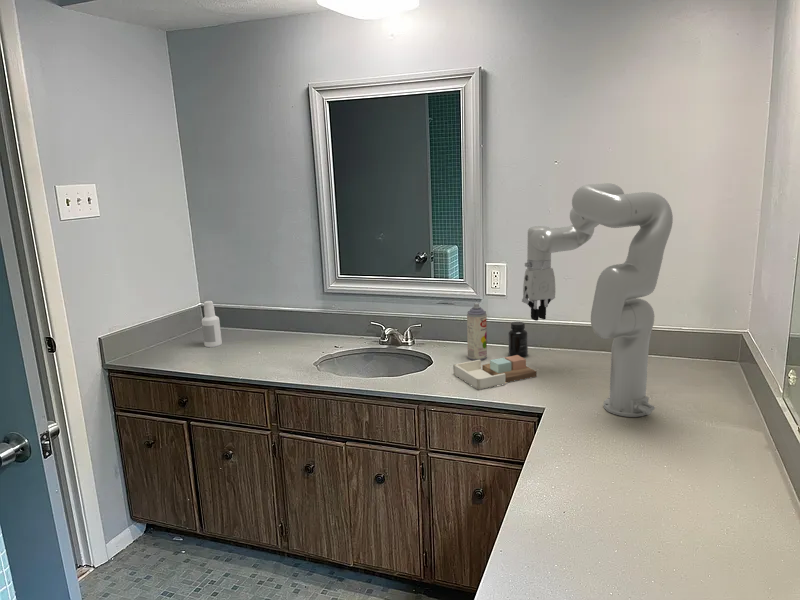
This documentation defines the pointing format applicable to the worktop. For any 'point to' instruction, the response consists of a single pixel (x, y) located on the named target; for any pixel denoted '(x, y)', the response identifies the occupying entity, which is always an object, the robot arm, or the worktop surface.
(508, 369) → the teal tile
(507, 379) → the walnut board
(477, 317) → the aerosol can
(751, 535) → the worktop surface
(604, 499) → the worktop surface
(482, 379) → the box
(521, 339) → the supplement bottle
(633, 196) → the robot arm
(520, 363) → the clay tile
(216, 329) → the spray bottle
